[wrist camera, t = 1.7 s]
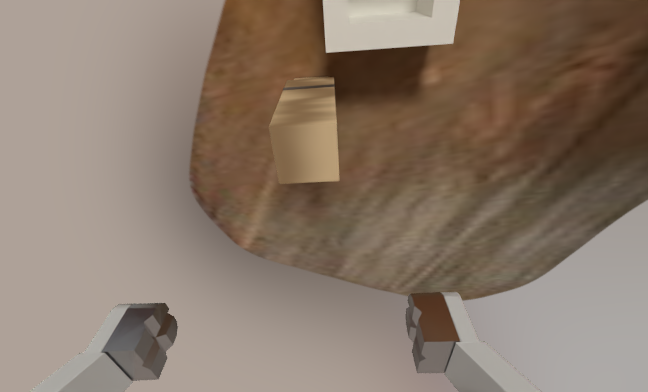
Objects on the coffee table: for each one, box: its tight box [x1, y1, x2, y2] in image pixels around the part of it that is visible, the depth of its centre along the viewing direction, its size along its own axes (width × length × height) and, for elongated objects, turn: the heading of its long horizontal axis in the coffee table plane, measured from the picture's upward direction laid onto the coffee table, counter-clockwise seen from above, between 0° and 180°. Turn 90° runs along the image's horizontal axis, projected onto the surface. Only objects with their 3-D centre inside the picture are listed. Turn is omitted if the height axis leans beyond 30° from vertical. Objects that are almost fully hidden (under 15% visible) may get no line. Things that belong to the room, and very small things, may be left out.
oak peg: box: [269, 76, 339, 184], centre depth 24 cm, size 4×4×12 cm
